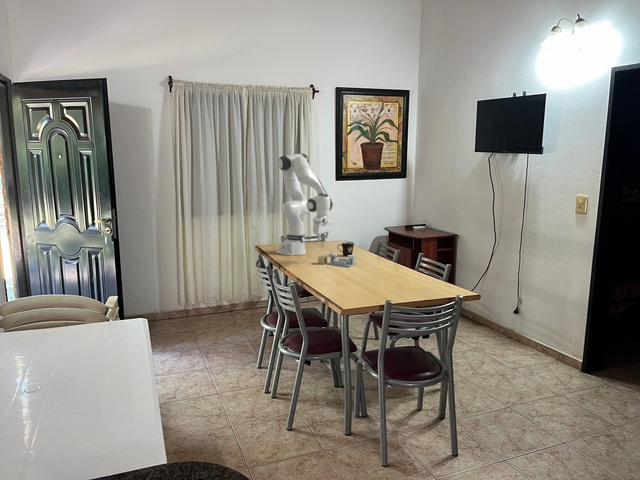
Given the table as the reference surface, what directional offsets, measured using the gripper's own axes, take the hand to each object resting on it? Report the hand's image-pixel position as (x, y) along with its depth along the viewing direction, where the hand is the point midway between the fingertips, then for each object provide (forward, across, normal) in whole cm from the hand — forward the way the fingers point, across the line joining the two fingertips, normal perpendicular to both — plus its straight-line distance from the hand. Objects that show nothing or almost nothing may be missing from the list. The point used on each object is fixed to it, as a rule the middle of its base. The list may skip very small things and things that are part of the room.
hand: (322, 239), depth 329 cm
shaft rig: (+17, -5, +12) cm, 21 cm away
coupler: (+17, 0, 0) cm, 17 cm away
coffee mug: (+17, -31, +2) cm, 35 cm away
